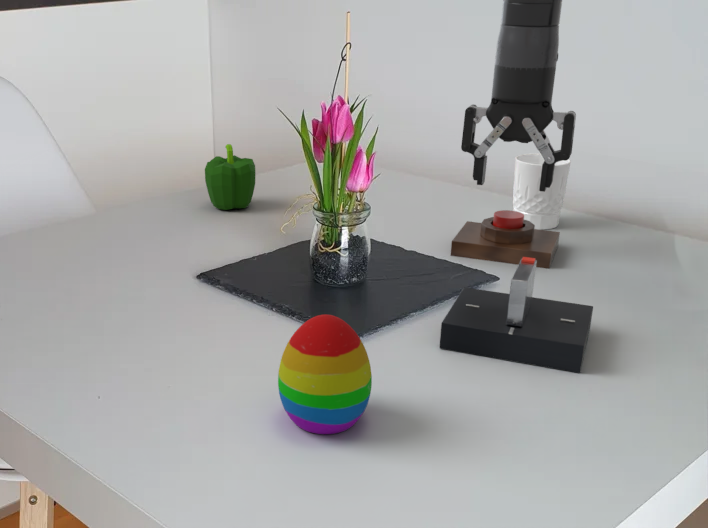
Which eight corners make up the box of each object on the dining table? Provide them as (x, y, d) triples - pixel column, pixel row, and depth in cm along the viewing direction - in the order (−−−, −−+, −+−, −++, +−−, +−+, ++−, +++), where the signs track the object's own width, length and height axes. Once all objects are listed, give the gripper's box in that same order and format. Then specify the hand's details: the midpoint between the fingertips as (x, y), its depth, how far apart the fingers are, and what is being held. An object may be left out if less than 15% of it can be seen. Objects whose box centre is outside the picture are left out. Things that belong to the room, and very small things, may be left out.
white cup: (506, 228, 126) (514, 163, 122) (509, 214, 133) (516, 152, 129) (561, 233, 124) (571, 167, 120) (562, 218, 131) (570, 155, 127)
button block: (558, 246, 118) (561, 219, 117) (549, 269, 110) (552, 240, 108) (465, 235, 123) (468, 209, 122) (450, 256, 115) (452, 228, 113)
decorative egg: (388, 419, 75) (394, 316, 71) (326, 454, 69) (329, 346, 66) (321, 388, 80) (323, 291, 76) (259, 418, 75) (258, 316, 71)
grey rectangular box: (521, 327, 85) (527, 279, 83) (506, 324, 86) (511, 277, 84) (531, 303, 91) (537, 257, 89) (516, 300, 92) (521, 255, 90)
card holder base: (589, 330, 92) (593, 304, 91) (579, 373, 82) (584, 344, 81) (461, 310, 97) (464, 285, 96) (439, 348, 88) (441, 321, 87)
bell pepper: (249, 215, 134) (248, 153, 130) (200, 212, 135) (198, 151, 132) (261, 201, 141) (261, 142, 137) (214, 198, 143) (213, 140, 139)
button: (524, 224, 116) (526, 212, 115) (520, 232, 113) (521, 219, 112) (495, 220, 118) (496, 208, 117) (490, 228, 114) (491, 216, 114)
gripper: (463, 62, 106) (452, 188, 112) (582, 68, 101) (564, 199, 107) (474, 56, 112) (463, 175, 119) (587, 61, 107) (570, 185, 113)
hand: (511, 186), depth 113 cm, fingers open, 7 cm apart
